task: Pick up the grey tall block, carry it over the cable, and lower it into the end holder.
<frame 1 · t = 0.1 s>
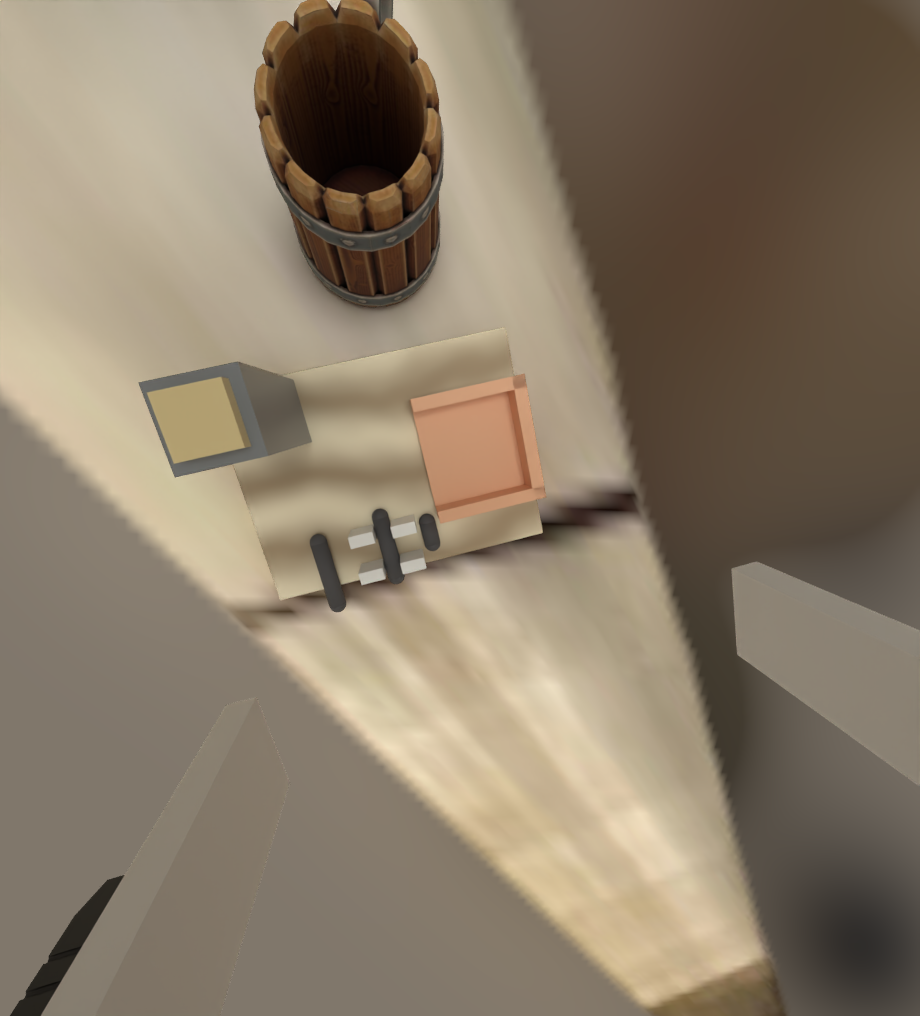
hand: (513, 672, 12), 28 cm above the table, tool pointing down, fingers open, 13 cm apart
end holder: (475, 447, 37), resting on route board
route board: (389, 466, 38), on the table
cable clips: (388, 544, 38), resting on route board
mug: (374, 203, 33), on the table
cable: (373, 542, 38), resting on route board
grey tall block: (271, 418, 34), point 1 cm above the table, touching route board
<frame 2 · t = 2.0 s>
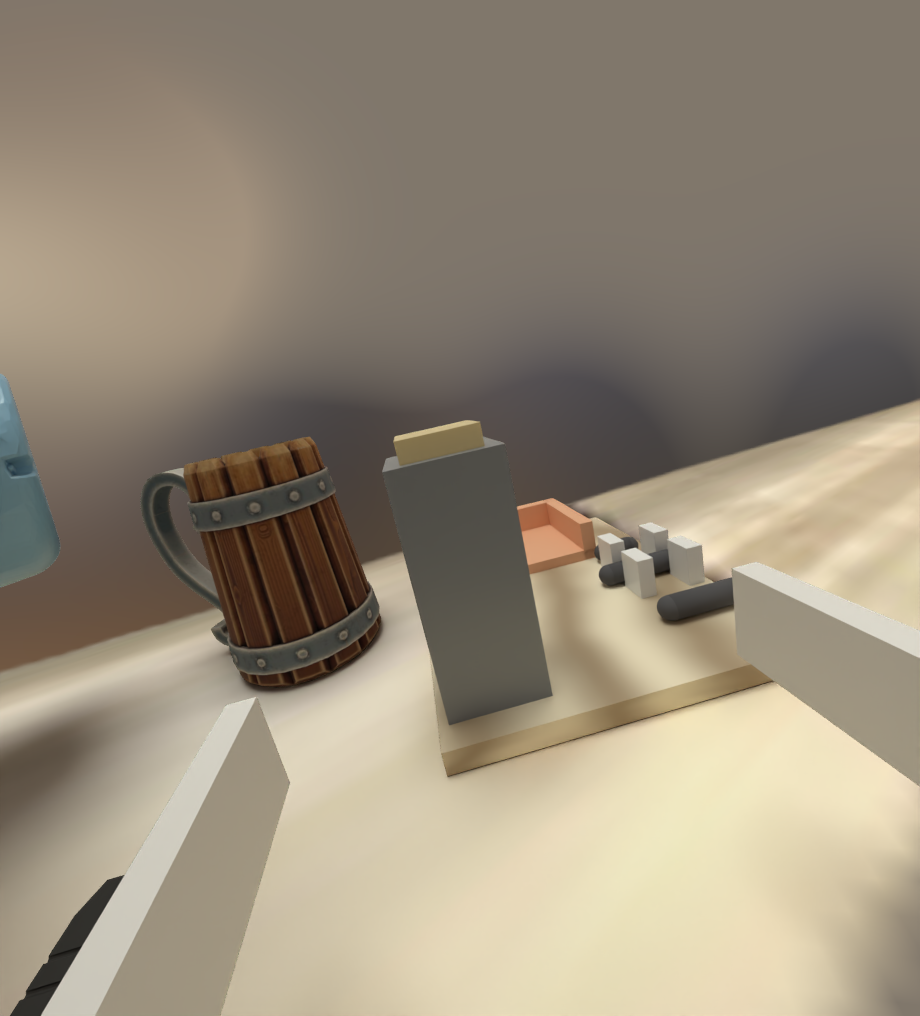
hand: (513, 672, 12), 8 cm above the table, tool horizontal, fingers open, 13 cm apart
end holder: (521, 554, 38), resting on route board
route board: (552, 603, 31), on the table
cable clips: (648, 574, 29), resting on route board
mug: (288, 649, 33), on the table
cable: (652, 583, 28), resting on route board
grey tall block: (490, 678, 22), point 1 cm above the table, touching route board
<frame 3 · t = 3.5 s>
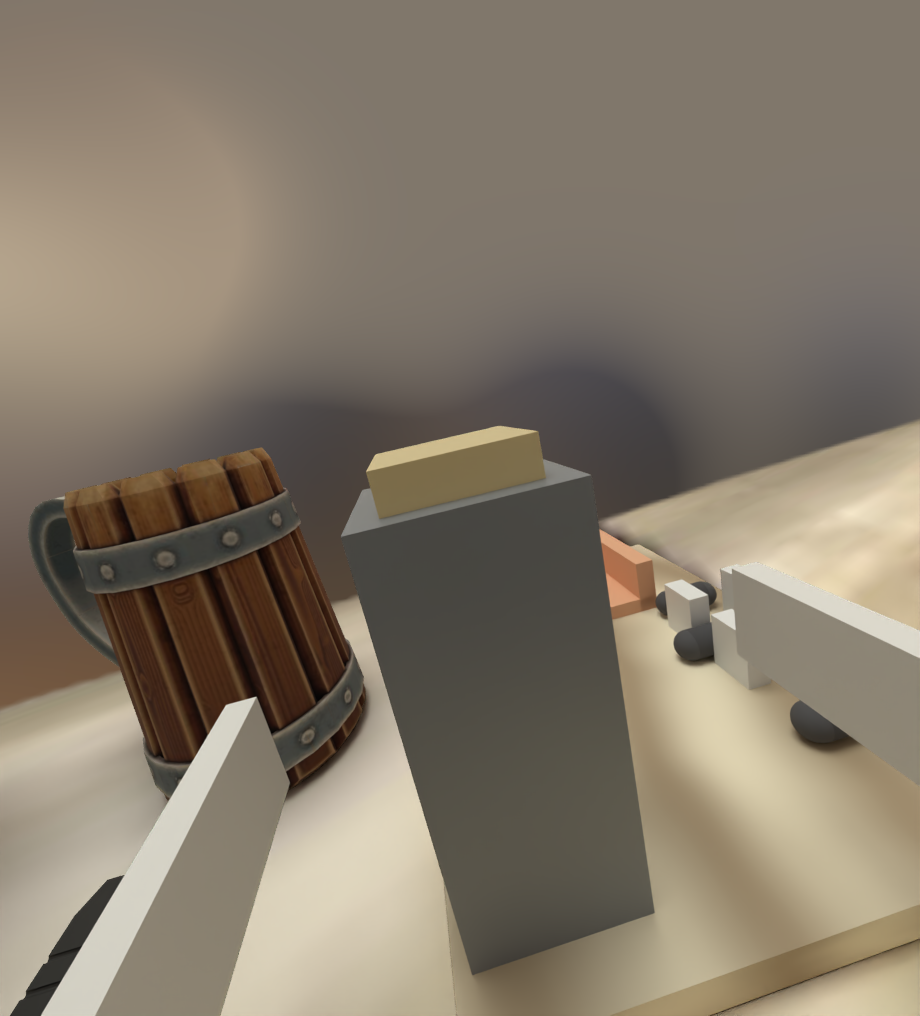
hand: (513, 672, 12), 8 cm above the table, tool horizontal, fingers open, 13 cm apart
end holder: (550, 597, 29), resting on route board
route board: (603, 678, 22), on the table
cable clips: (744, 642, 21), resting on route board
mug: (239, 736, 24), on the table
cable: (755, 659, 19), resting on route board
grey tall block: (535, 849, 14), point 1 cm above the table, touching route board
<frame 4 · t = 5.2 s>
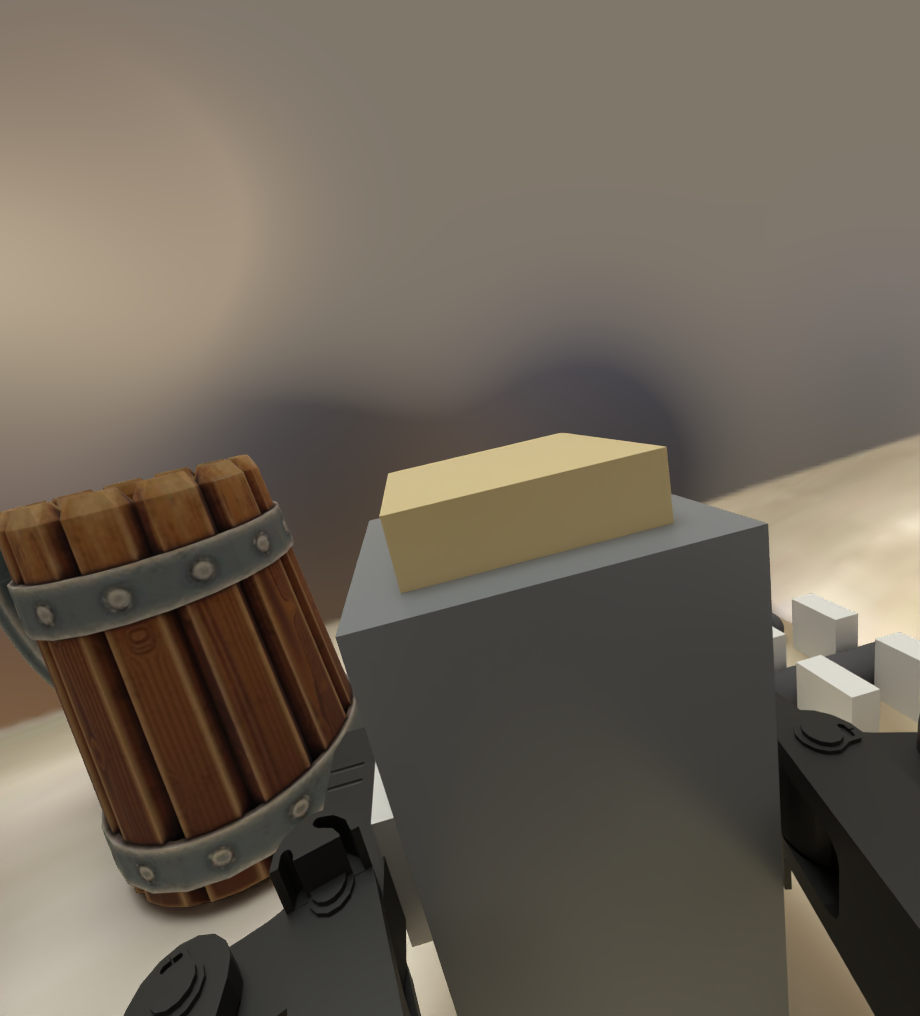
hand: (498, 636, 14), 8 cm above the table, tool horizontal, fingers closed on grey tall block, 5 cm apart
route board: (653, 730, 19), on the table
cable clips: (829, 691, 17), resting on route board
mug: (222, 790, 21), on the table
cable: (849, 716, 16), resting on route board
grey tall block: (602, 1005, 10), point 1 cm above the table, touching gripper, route board
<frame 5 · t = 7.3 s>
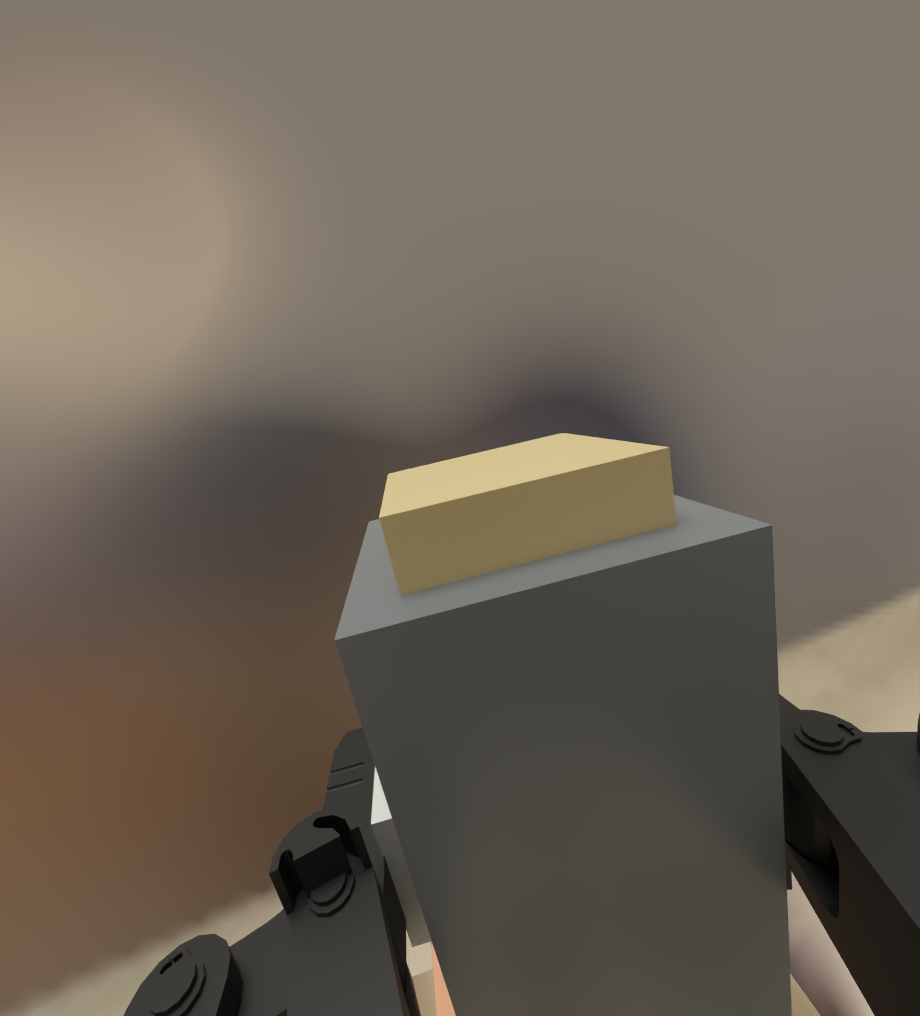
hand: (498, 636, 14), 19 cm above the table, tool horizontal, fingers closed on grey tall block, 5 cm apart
grey tall block: (603, 1008, 10), point 12 cm above the table, touching gripper
when the fingers open (10 cm above the table, at t = 9.4 s): grey tall block drops 1 cm, resting on end holder.
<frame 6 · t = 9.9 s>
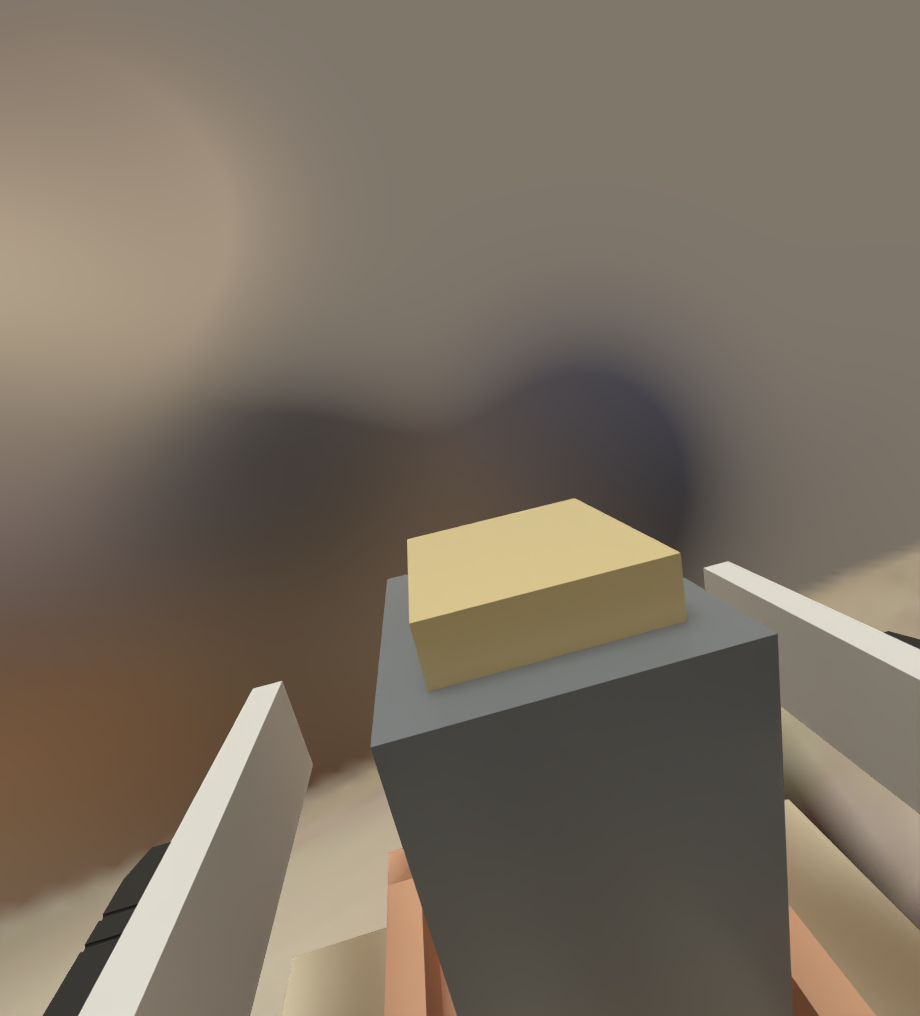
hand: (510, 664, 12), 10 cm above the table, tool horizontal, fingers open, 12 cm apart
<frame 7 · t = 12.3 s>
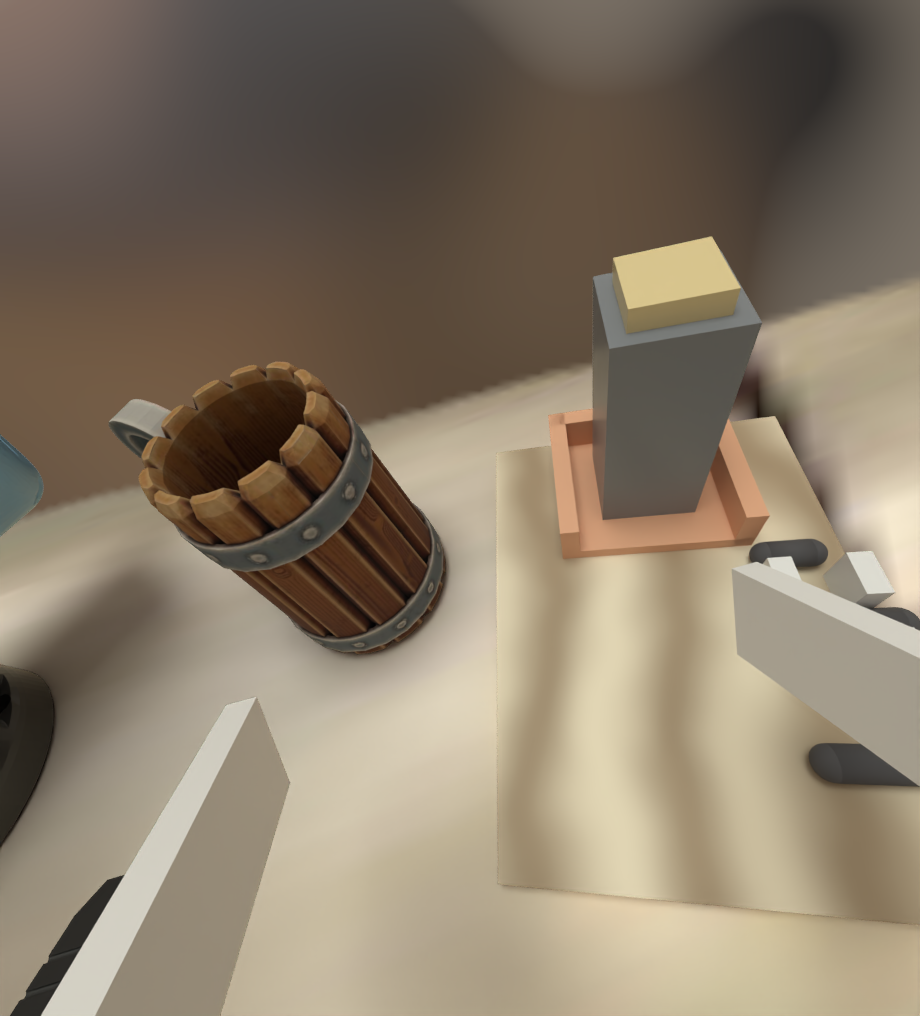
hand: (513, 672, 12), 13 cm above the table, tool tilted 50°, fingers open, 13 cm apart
end holder: (638, 488, 27), resting on route board
route board: (661, 610, 24), on the table
cable clips: (820, 630, 20), resting on route board
mug: (347, 571, 31), on the table
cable: (819, 658, 20), resting on route board
grey tall block: (639, 481, 26), point 2 cm above the table, touching end holder
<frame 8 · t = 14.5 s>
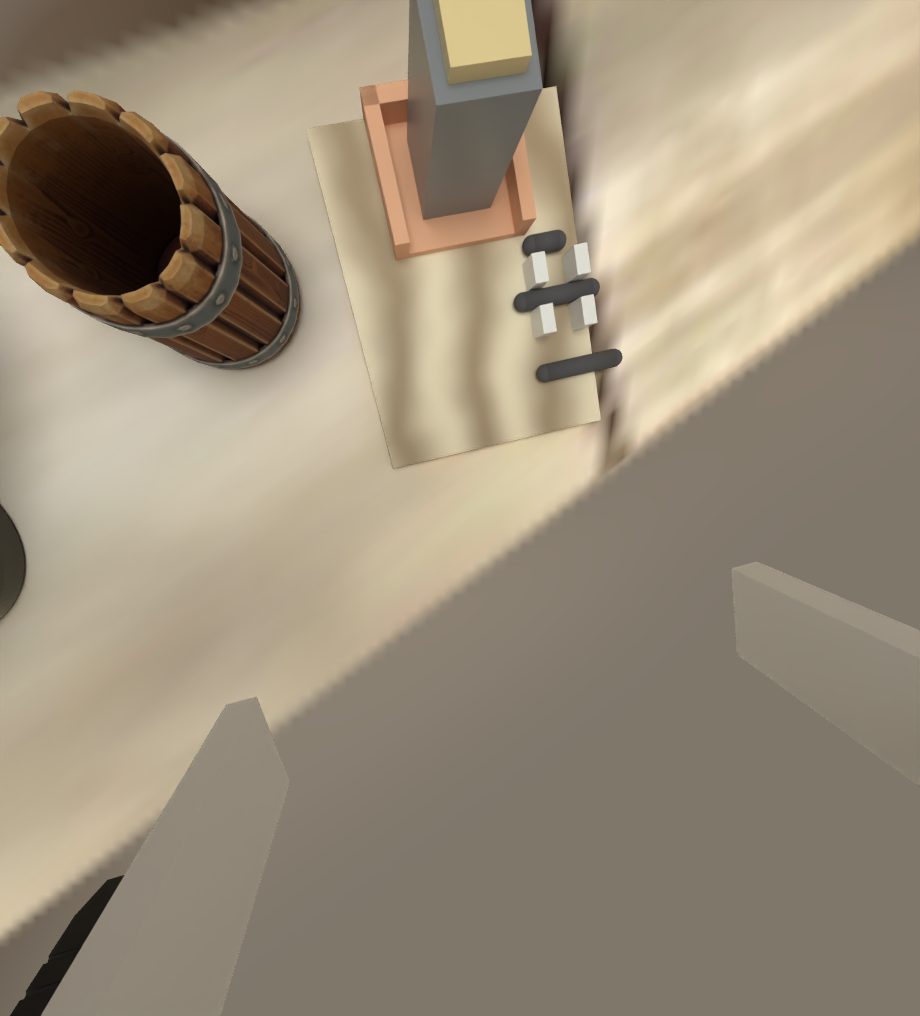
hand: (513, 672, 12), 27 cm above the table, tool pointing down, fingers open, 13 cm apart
end holder: (447, 179, 31), resting on route board
route board: (467, 294, 34), on the table
cable clips: (553, 297, 34), resting on route board
mug: (194, 291, 32), on the table
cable: (550, 315, 34), resting on route board
grey tall block: (449, 174, 31), point 2 cm above the table, touching end holder
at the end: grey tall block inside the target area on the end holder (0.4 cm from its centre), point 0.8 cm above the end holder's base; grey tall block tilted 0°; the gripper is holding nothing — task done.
